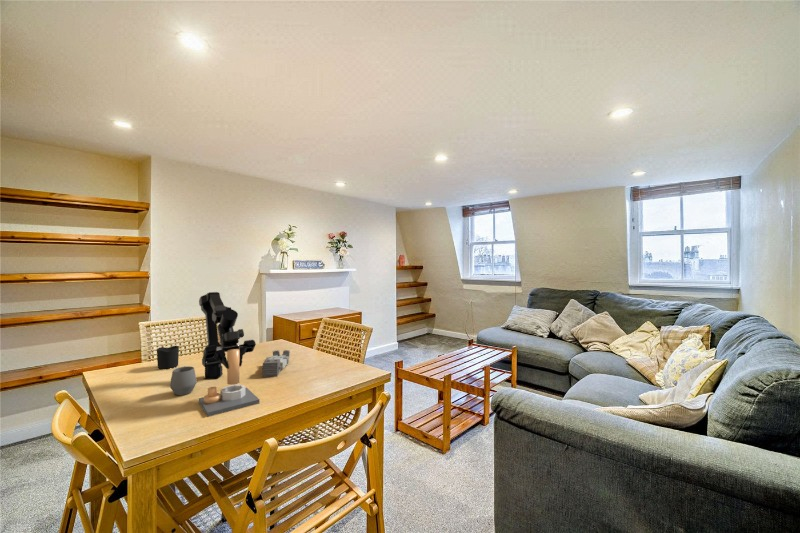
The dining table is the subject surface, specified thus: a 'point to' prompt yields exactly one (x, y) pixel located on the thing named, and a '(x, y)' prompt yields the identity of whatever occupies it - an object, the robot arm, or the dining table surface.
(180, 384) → the cup
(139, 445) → the dining table surface
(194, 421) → the dining table surface
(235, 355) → the tan peg
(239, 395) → the octagonal socket plate
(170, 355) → the pen holder
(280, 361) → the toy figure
